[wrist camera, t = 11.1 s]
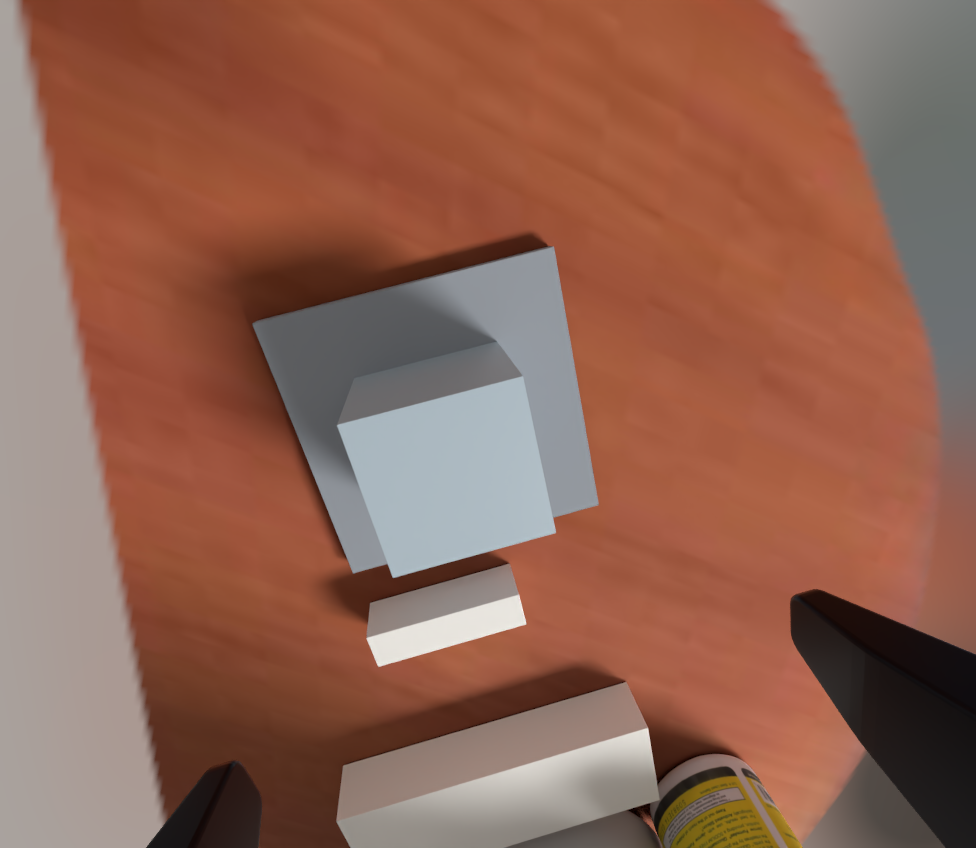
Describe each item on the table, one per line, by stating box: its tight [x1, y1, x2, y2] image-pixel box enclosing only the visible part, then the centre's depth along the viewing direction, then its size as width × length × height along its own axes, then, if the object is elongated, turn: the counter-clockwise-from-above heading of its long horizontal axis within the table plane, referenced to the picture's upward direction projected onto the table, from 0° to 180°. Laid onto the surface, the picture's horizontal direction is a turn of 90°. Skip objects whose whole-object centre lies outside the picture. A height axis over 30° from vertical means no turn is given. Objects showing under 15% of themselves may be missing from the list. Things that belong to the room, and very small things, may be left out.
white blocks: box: [336, 564, 660, 848], centre depth 23 cm, size 14×14×2 cm
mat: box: [252, 246, 599, 573], centre depth 19 cm, size 10×10×1 cm
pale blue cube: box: [337, 341, 556, 578], centre depth 17 cm, size 5×5×4 cm
